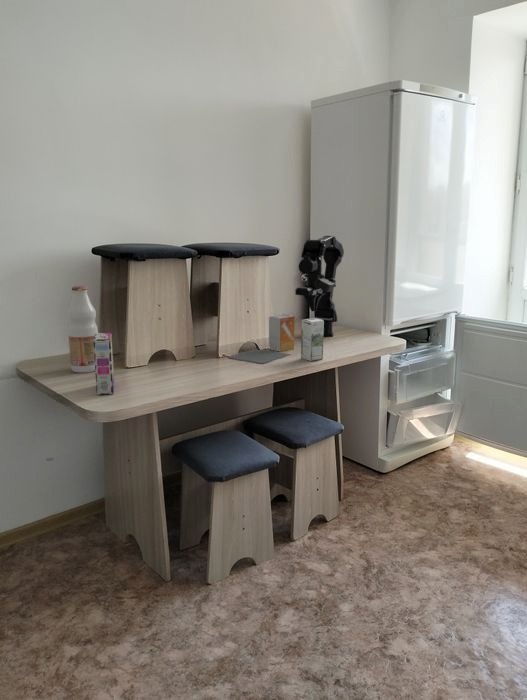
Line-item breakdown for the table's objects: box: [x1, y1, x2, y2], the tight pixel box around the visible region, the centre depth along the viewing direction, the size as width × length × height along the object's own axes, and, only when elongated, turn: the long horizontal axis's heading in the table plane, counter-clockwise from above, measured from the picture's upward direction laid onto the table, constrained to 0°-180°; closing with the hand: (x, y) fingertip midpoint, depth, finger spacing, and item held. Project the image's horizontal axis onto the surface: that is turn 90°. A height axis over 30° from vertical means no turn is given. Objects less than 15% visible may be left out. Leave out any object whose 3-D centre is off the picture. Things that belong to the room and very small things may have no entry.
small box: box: [268, 313, 296, 353], centre depth 219 cm, size 8×6×13 cm
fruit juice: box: [66, 285, 99, 374], centre depth 189 cm, size 9×9×28 cm
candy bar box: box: [93, 332, 115, 396], centre depth 168 cm, size 11×5×16 cm, turn 13°
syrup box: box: [300, 317, 324, 362], centre depth 203 cm, size 6×6×14 cm
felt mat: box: [227, 348, 291, 365], centre depth 209 cm, size 17×16×1 cm
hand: (313, 310), depth 229 cm, fingers closed
